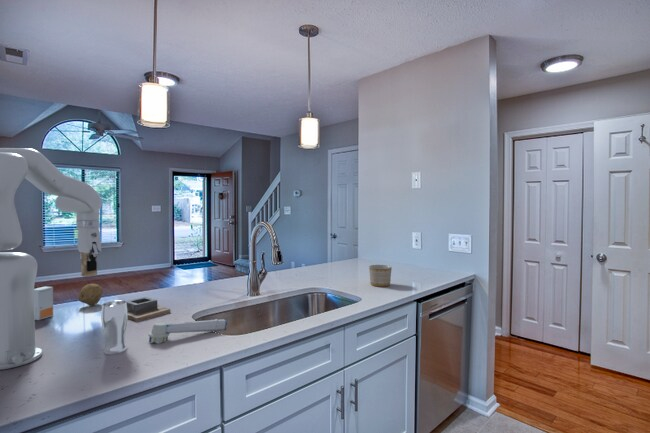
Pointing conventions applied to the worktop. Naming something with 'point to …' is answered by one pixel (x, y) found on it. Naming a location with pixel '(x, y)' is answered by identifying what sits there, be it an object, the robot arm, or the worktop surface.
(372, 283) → the planter
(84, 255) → the oak peg
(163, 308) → the peg caddy
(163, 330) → the white handle
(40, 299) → the skincare box
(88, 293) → the natural sponge
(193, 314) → the worktop surface
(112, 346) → the beer glass
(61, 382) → the worktop surface
